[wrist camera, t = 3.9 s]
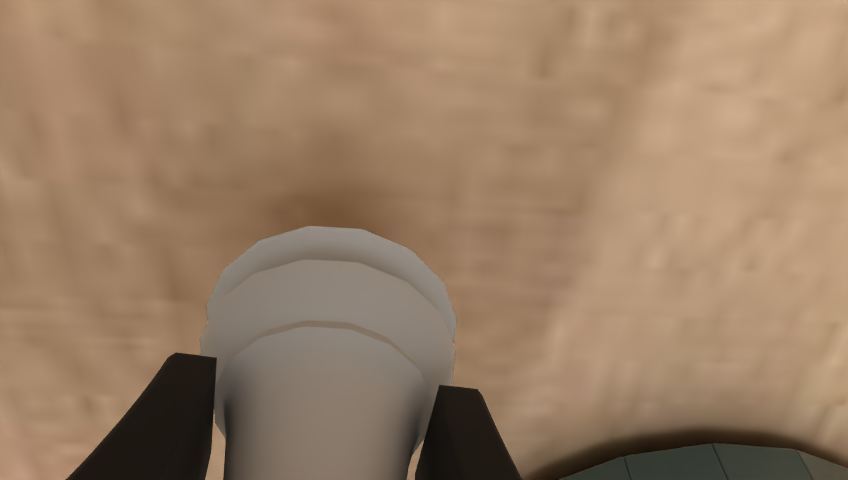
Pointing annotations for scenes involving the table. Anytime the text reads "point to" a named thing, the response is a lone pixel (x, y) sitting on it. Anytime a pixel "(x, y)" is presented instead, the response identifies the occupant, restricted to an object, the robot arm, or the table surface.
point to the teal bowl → (716, 465)
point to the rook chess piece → (327, 356)
